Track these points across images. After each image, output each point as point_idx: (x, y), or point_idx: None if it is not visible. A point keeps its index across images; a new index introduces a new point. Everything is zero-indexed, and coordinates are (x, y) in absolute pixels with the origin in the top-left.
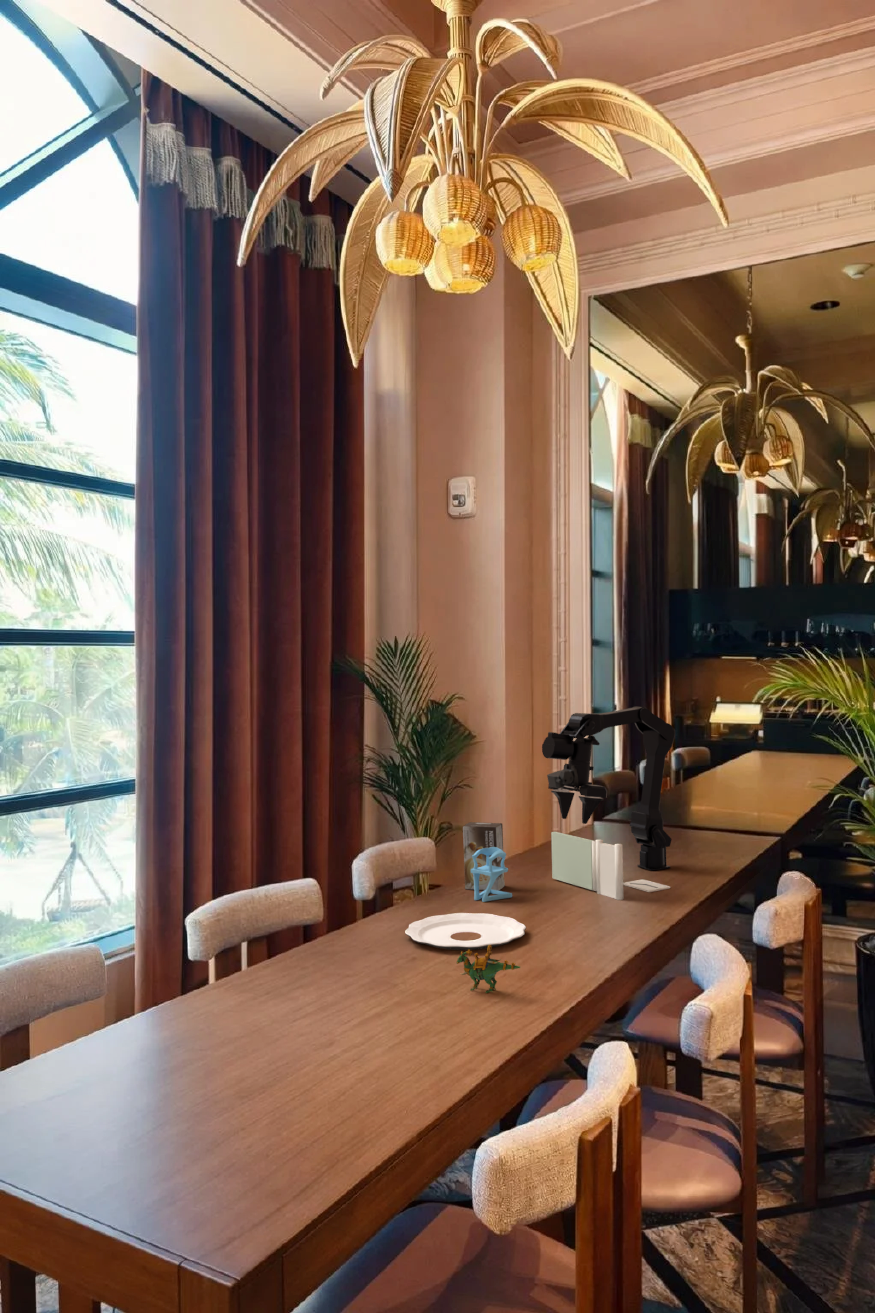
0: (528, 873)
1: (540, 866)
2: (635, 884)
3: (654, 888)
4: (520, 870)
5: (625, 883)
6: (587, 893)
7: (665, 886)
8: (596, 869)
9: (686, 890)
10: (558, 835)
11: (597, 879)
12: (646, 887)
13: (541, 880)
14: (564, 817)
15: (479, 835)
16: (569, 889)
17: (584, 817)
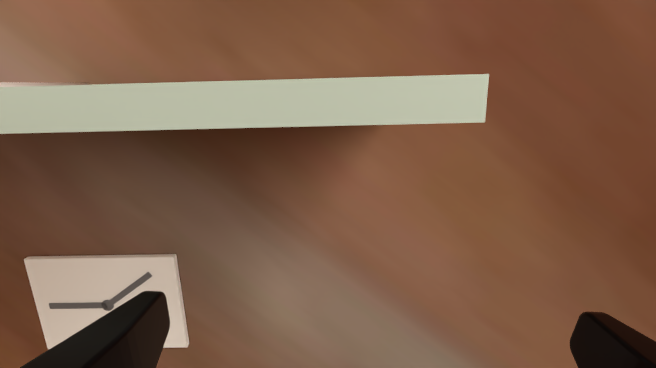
0: (576, 67)
1: (640, 195)
2: (129, 280)
3: (44, 293)
4: (651, 72)
5: (159, 262)
6: (114, 53)
7: (55, 338)
8: (2, 83)
9: (7, 364)
10: (367, 78)
11: (37, 82)
12: (70, 281)
13: (425, 31)
14: (585, 338)
15: None
16: (212, 32)
17: (70, 345)
